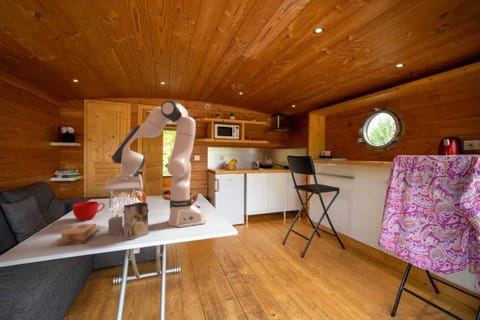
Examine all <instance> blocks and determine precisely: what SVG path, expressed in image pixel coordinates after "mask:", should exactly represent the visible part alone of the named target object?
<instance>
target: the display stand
mask: <svg viewBox="0 0 480 320" xmlns="http://www.w3.org/2000/svg"><path fill="white" fill-rule="evenodd" d="M99 232H100V228H97V223H86V224H85V223H84V224H75V225H74V226H72V227H71V228H69V229H67V228H66V229H62V230H61V240H60V241H59V242H58V243H57V247H62V246H63V247H64V246H75V245H83V244H87V243H89V242H90V240H92V239H93V238H94V237H95V236H96V235H97V234H99Z"/></svg>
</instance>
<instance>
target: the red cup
mask: <svg viewBox="0 0 480 320" xmlns="http://www.w3.org/2000/svg"><path fill="white" fill-rule="evenodd" d="M100 205H103V206H102V208H100V209H98V208H99V206H100ZM105 206H106V205H105V203H104V202H100V203H99V202H98V201H96V200H95V201H81V202H77V203H74V204H73V205H72V211H73V215H74V217H75V218H76V219H77V220H79V222H87V221H91V220H93V219H94V218H95V216H96V215H97V213H99V212H101V211H103V209H105Z"/></svg>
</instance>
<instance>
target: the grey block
mask: <svg viewBox="0 0 480 320" xmlns="http://www.w3.org/2000/svg"><path fill="white" fill-rule="evenodd" d="M123 226H124V220H123V216H114V217H110V218H109V219H108V236H109V237H112V236H121V234H122V233H123V230H124V228H123Z"/></svg>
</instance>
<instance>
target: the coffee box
mask: <svg viewBox="0 0 480 320" xmlns="http://www.w3.org/2000/svg"><path fill="white" fill-rule="evenodd" d="M148 206H149V205H148V203H147V202H142V201H140V202H135V203H130V204H125V205H123V226H124V228H123V230H124V235H123V236H124V238H125V239H129V240H131V241H133V240H135V239H138V238H141V237H144V236H146V235H149V215H148V214H149V212H148V211H149V209H148Z"/></svg>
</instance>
